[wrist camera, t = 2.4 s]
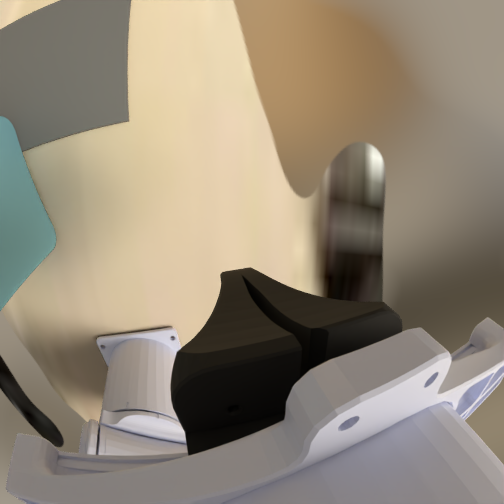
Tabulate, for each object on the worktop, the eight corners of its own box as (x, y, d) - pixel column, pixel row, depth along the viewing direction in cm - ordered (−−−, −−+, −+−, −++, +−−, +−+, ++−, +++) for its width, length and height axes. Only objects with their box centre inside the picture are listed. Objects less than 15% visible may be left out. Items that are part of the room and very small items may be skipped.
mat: (129, 121, 17) (128, 120, 17) (-55, 189, 12) (-56, 190, 12) (133, -19, 12) (133, -21, 11) (-49, 66, 7) (-51, 66, 7)
